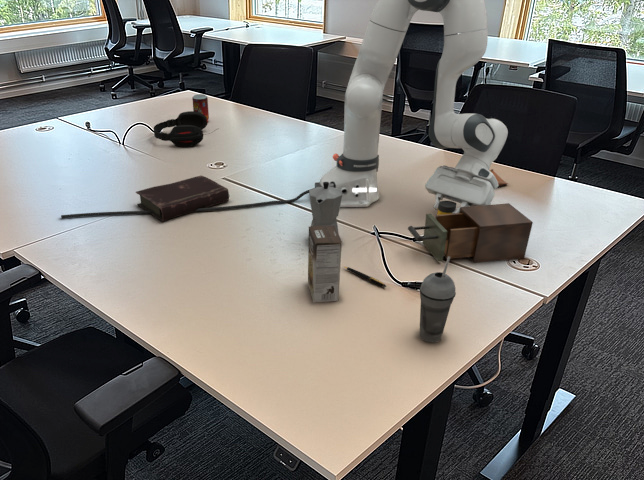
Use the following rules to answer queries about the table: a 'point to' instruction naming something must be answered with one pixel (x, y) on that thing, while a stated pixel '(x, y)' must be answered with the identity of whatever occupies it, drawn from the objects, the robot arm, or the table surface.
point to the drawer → (448, 235)
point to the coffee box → (324, 263)
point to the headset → (183, 129)
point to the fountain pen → (366, 277)
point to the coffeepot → (325, 205)
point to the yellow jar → (446, 207)
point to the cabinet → (499, 232)
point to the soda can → (201, 104)
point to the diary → (182, 197)
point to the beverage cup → (435, 304)
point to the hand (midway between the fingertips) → (445, 212)
